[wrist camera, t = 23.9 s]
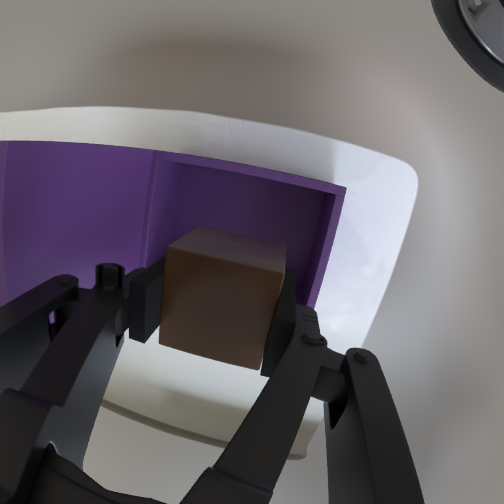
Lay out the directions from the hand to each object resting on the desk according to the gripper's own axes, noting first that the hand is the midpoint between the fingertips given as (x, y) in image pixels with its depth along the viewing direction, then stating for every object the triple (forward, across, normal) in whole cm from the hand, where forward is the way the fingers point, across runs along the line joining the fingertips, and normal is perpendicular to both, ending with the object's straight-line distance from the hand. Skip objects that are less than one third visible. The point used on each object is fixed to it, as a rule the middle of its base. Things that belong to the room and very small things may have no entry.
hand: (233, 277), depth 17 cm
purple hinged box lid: (0, -9, 0) cm, 9 cm away
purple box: (+17, -2, 0) cm, 17 cm away
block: (0, 0, 0) cm, 0 cm away
